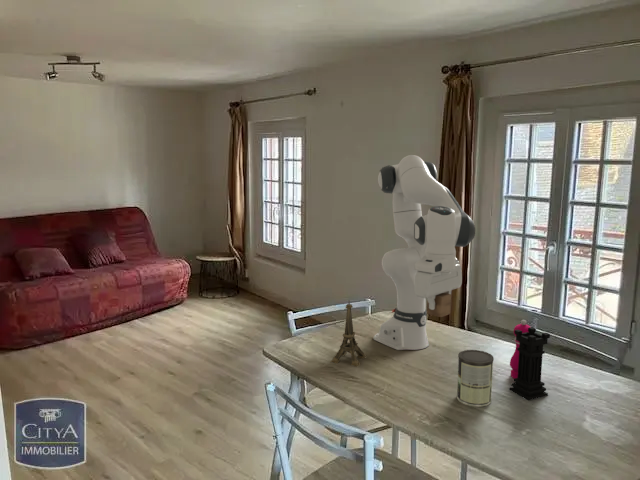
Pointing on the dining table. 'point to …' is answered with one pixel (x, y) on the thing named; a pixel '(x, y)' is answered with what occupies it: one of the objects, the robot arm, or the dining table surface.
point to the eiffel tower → (347, 346)
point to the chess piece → (530, 364)
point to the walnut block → (441, 305)
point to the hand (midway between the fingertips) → (438, 306)
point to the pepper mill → (515, 357)
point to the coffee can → (475, 378)
